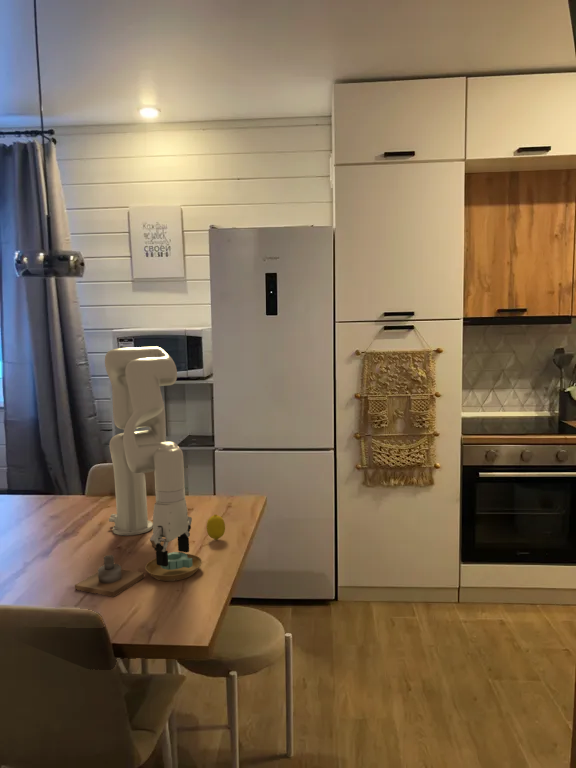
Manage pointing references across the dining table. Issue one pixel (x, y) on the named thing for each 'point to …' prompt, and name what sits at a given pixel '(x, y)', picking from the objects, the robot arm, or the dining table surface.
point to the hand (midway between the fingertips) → (173, 558)
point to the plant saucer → (173, 574)
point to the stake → (109, 579)
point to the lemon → (215, 527)
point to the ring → (178, 561)
